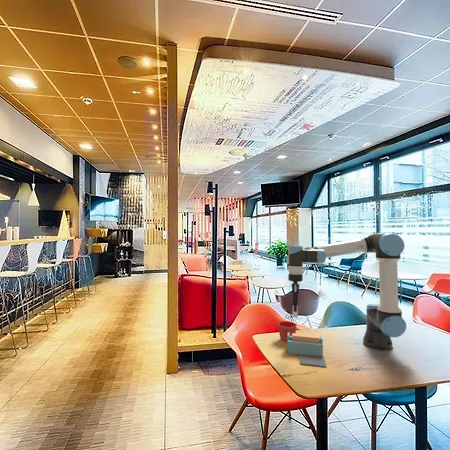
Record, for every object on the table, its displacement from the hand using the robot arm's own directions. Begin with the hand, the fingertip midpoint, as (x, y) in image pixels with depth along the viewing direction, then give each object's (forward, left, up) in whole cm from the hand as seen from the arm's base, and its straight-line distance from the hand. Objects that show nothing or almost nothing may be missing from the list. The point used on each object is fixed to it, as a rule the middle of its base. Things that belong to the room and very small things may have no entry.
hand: (295, 316), depth 161 cm
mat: (-9, +12, -18) cm, 23 cm away
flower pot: (+4, -14, -18) cm, 24 cm away
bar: (-6, 0, -14) cm, 15 cm away
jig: (-5, 0, -18) cm, 19 cm away
